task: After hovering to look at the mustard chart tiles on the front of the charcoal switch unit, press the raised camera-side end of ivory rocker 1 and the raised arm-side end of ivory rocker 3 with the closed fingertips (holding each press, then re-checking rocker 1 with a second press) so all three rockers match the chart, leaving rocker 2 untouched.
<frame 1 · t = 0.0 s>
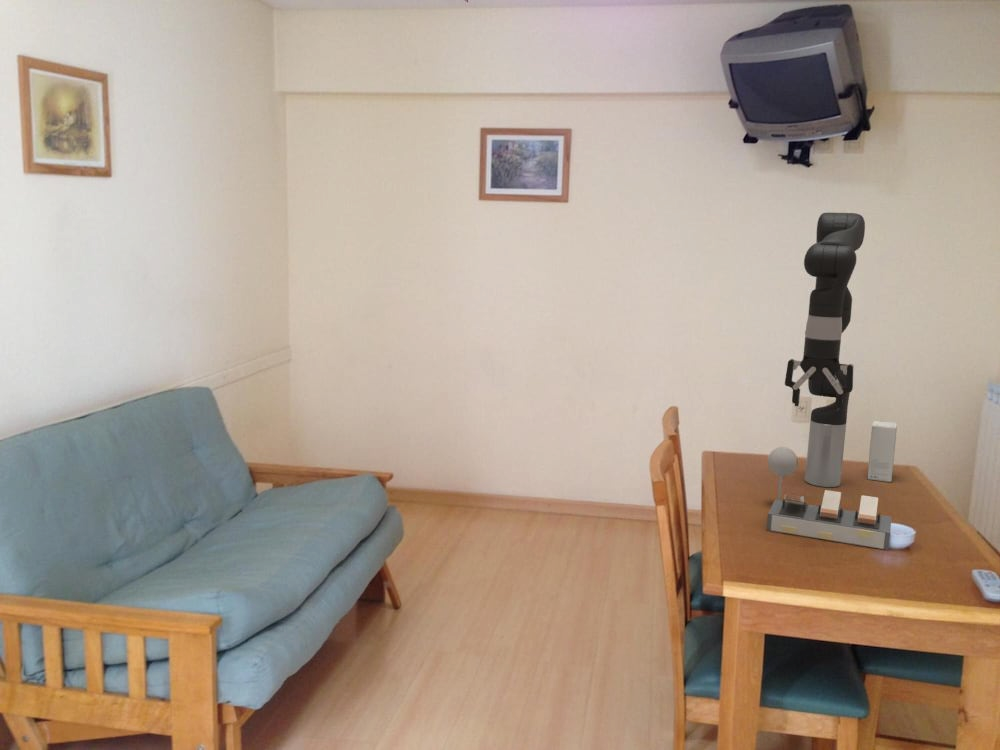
hand: (816, 407, 203), 29 cm above the table, fingers open, 8 cm apart
switch 3: (868, 509, 204), point 7 cm above the table, hinge at 18.0°
switch 1: (794, 498, 211), point 7 cm above the table, hinge at -18.0°
switch 2: (830, 504, 208), point 7 cm above the table, hinge at 18.0°
skincare box: (879, 478, 256), on the table
switch unit: (828, 531, 209), on the table
lollipop: (778, 505, 228), on the table
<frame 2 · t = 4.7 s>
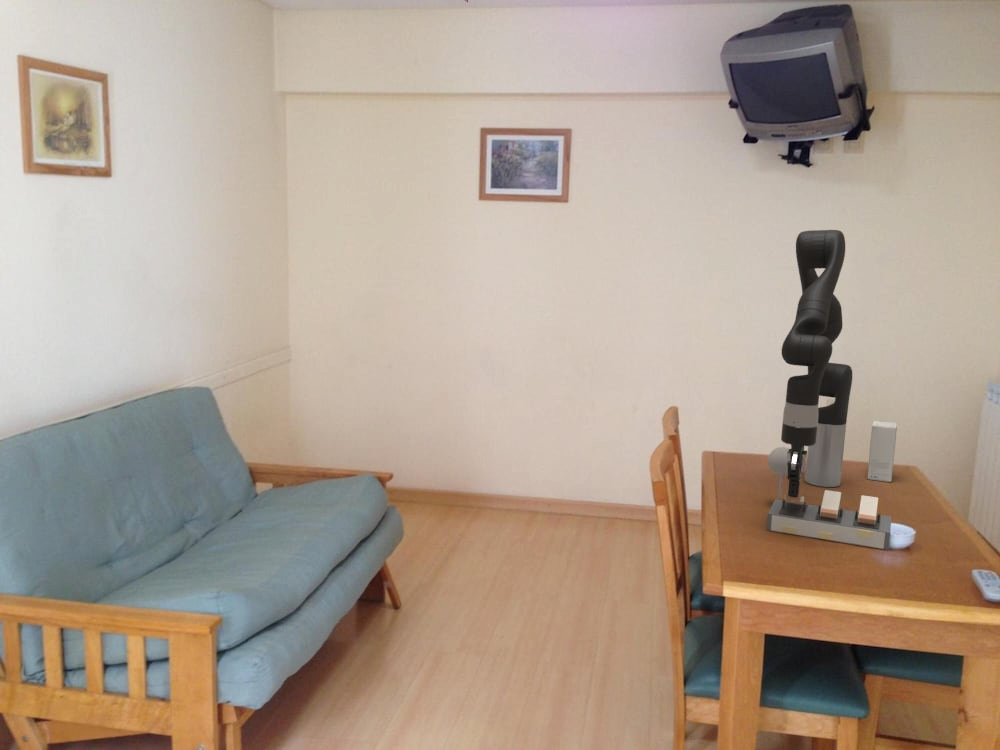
hand: (793, 496, 207), 8 cm above the table, fingers closed
switch 1: (794, 498, 211), point 7 cm above the table, hinge at -16.0°, touching gripper
everything else where it was.
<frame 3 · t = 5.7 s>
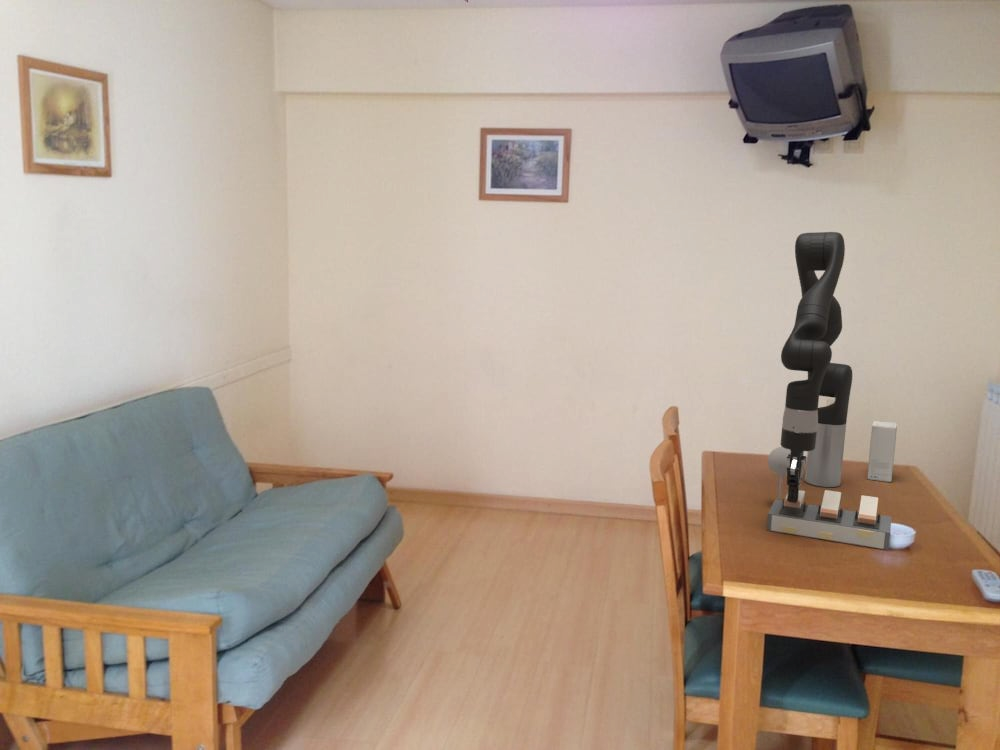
hand: (792, 501, 207), 7 cm above the table, fingers closed
switch 1: (794, 498, 211), point 7 cm above the table, hinge at 2.7°, touching gripper
everything else where it was.
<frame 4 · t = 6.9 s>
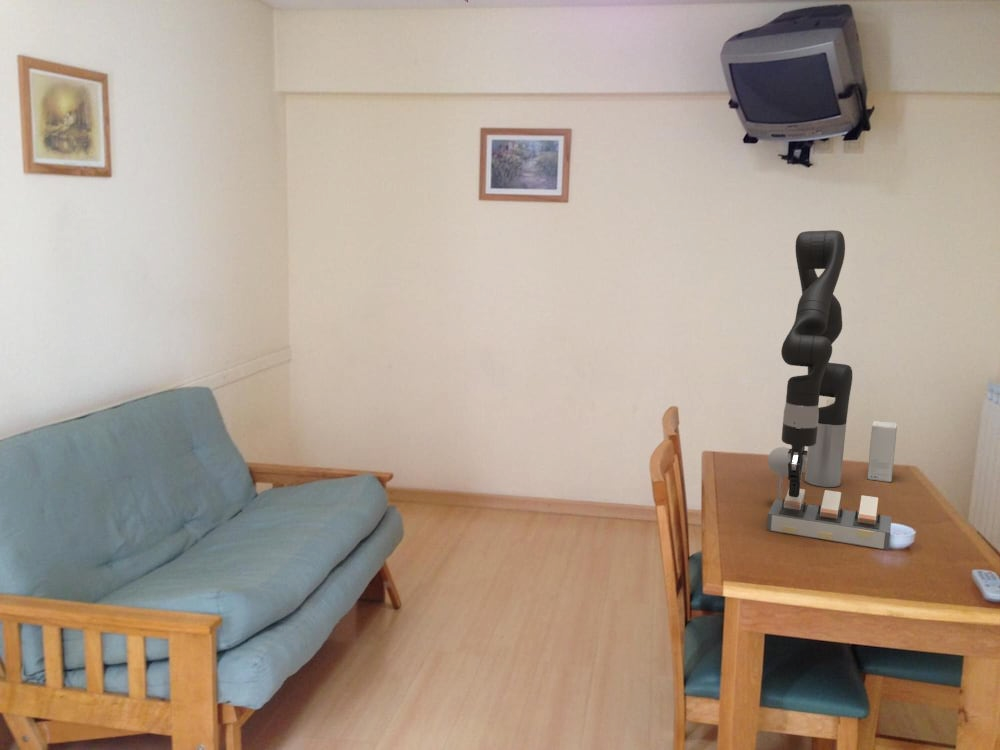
hand: (793, 496, 208), 8 cm above the table, fingers closed
switch 1: (794, 498, 211), point 7 cm above the table, hinge at 8.5°
everything else where it was.
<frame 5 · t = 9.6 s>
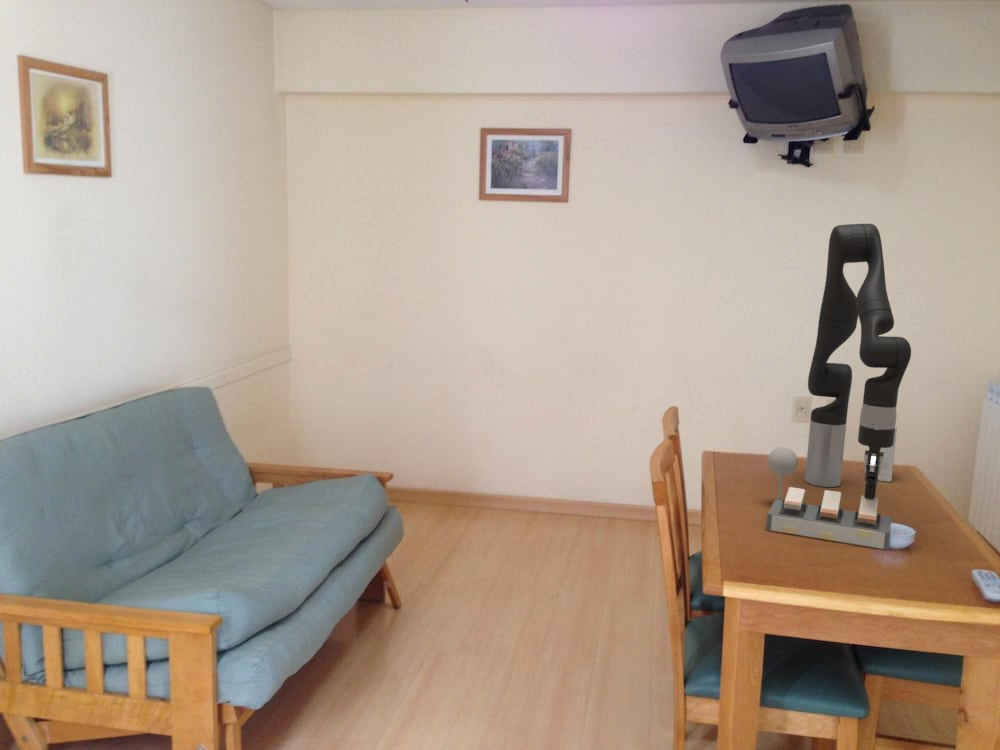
hand: (869, 497, 207), 9 cm above the table, fingers closed
switch 3: (868, 509, 204), point 7 cm above the table, hinge at 17.8°, touching gripper
switch 1: (794, 498, 211), point 7 cm above the table, hinge at 9.5°
everything else where it was.
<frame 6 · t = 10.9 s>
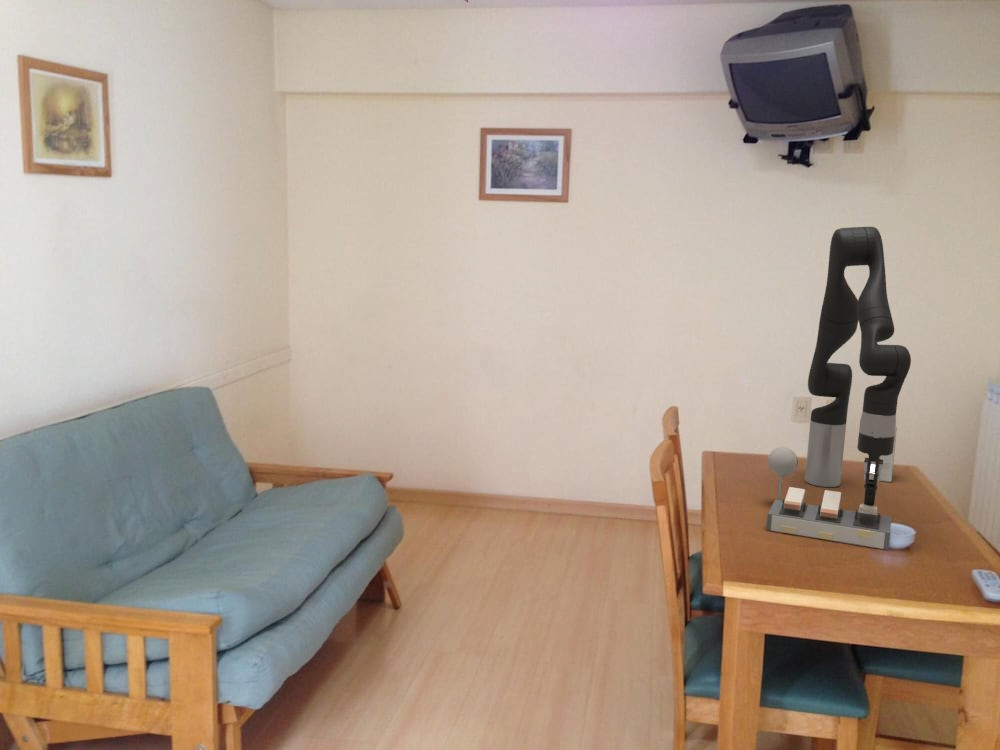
hand: (868, 504, 208), 7 cm above the table, fingers closed
switch 3: (868, 509, 205), point 7 cm above the table, hinge at -11.0°, touching gripper
everything else where it was.
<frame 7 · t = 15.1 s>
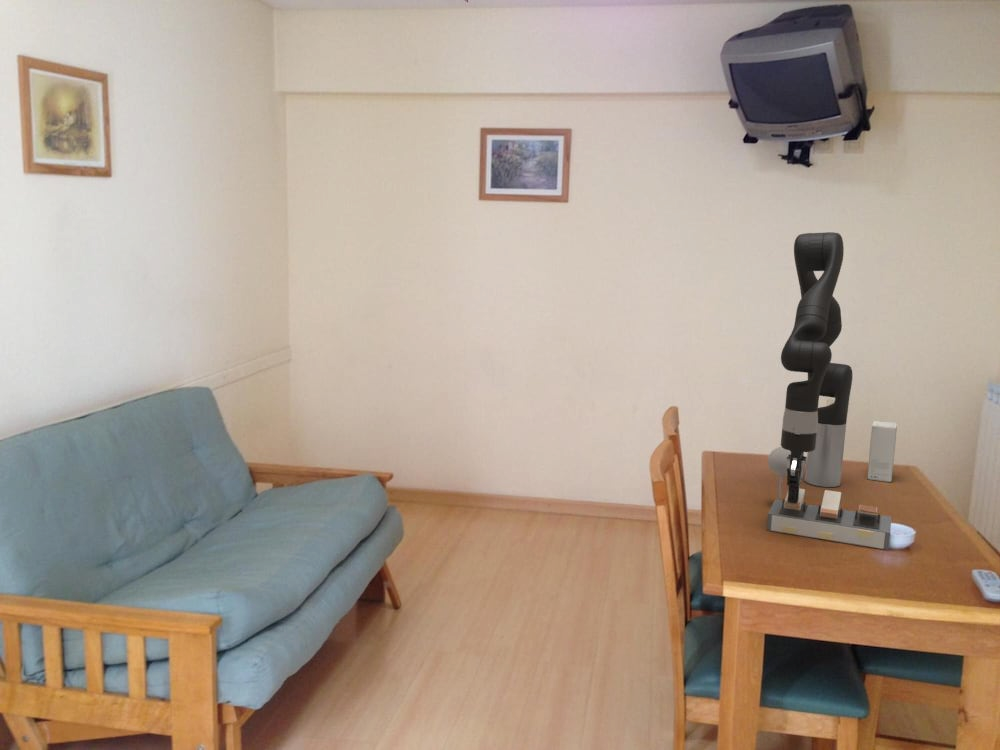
hand: (792, 501, 208), 7 cm above the table, fingers closed
switch 3: (868, 509, 205), point 7 cm above the table, hinge at -18.1°
switch 1: (794, 498, 211), point 7 cm above the table, hinge at 9.6°, touching gripper
everything else where it was.
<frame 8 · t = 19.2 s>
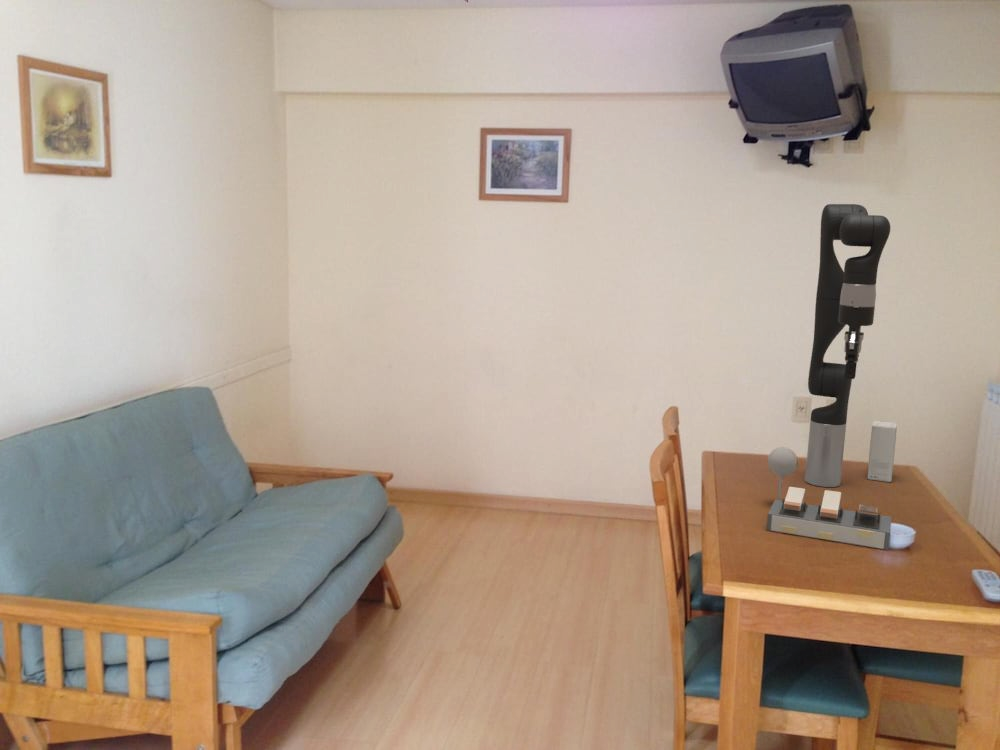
hand: (849, 378, 210), 35 cm above the table, fingers closed
switch 1: (794, 498, 211), point 7 cm above the table, hinge at 11.1°
everything else where it was.
at the end: switch 1 at +11° (first picture: -18°); switch 2 at +18° (first picture: +18°); switch 3 at -18° (first picture: +18°) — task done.
